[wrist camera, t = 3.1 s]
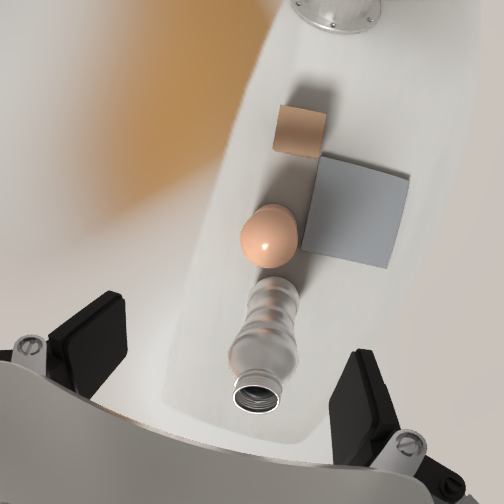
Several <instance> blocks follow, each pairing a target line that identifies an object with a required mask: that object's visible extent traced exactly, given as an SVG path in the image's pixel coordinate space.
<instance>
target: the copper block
mask: <svg viewBox="0 0 504 504" xmlns="http://www.w3.org/2000/svg"><path fill="white" fill-rule="evenodd" d="M326 115H327V114H325V113H320V112H316V111H311V110H306V109H301V108H296V107H290V106H285V105H280V110H279V115H278V121H277V127H276V132H275V138H274V143H273V149H274V150H275V151H276V152H282V153H287V154H292V155H297V156H302V157H307V158H312V159H317V158H319V155H320V149H321V144H322V138H323V133H324V127H325V121H326Z"/></svg>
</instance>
